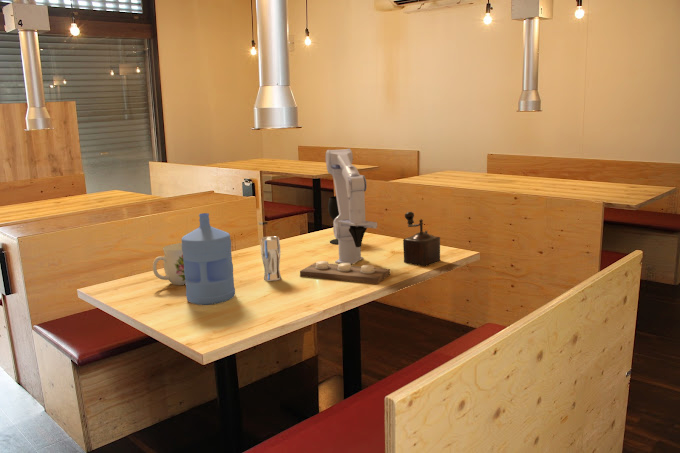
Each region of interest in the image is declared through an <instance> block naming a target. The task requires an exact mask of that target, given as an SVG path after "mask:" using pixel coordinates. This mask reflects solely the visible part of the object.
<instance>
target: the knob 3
mask: <svg viewBox="0 0 680 453" xmlns="http://www.w3.org/2000/svg"><path fill="white" fill-rule="evenodd" d="M374 268H375V266H374V265H372V264H363V265H361V273H362V274H372V273H374V272H375V270H374Z"/></svg>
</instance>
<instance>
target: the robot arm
mask: <svg viewBox="0 0 680 453" xmlns="http://www.w3.org/2000/svg"><path fill="white" fill-rule="evenodd" d="M352 151H353V150H352V149H351V148H346V149H345V148H343V149H327V150H326V152H325V164H326V170H327V173H328V174H330V175H331V176H332V180H333V185H334V192H335V196H336V198H337V204H338V211H339V215H338V216H337V217H336V218H335V219H334V220H333V221H332V224H333V235H334V239H338V244H339V245H338V259H337V260H335V261H334V262H335V263H334V264H340V263H350V264H351V265H355V264H356V263H358V262H359V261H361V260H363V259H364V257H363V256H362V251H361V250H362V248H361V247H362V244H363V239H364V235H365V233H366V231H367V229H368V228H369V229H375V230H376V229H378V221H377V222H376V221H369V220H366V201H365V200H366V198H365V193H366V192H367V179H366V177H365V176H366V175H363V174H360V172H359V170H358V168H357V167H356V166H355V165H353V161H354V156H353V155H354V154H353V152H352Z"/></svg>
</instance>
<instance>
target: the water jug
mask: <svg viewBox="0 0 680 453" xmlns="http://www.w3.org/2000/svg"><path fill="white" fill-rule="evenodd" d="M209 215H210V214H209V213H207V212H206V213H202V212H201V213H199V214H198V217H199V220H198V221H199V227H197V228H195V229H193V230H192V231H190V232H188V233H187V234H185V235H184V236H182V237H181V243H182V252H183V261H184V275H185V282H186V284H185V292H186V293H185V296H186V301H187V302H189V303H190V304H192V305H198V306H205V305H206V306H208V305H209V306H210V305H217V304H222V303H225V302H228V301H230V300H232V299H233V298H234V297H235V295H236V287H235V283H234V264H233V259H232V258H233V257H232V240H231V234H230V233H229V232H227V231H224V230H223V229H219V228H216V227H213V226H211V224H210V217H209Z"/></svg>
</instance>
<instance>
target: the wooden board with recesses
mask: <svg viewBox="0 0 680 453" xmlns="http://www.w3.org/2000/svg"><path fill="white" fill-rule="evenodd" d="M338 264H339V263H328V265H329V268H328V269H325V270H318V269H316V267H315V266H316V262H314V263H312V264H310V265H309V266H307V267H305V268H303V269H301V270H299V276H300V277H303V278H304V277H305V278H314V279H322V280H332V281H333V280H334V281H344V282H353V283H354V282H355V283H364V284H372V285H374V284H375V285H378V284H380V282H382V281H383V280H385V279H386V278H387V277H389V276H390V275H391V269H390V268H383V267H381V268H380V267H374V270H375V272H374V273H372V274H362V273H361V266H362V265H361V266H358V265H351V268H352V270H351V271H348V272H340V271H338ZM388 275H389V276H388Z"/></svg>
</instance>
